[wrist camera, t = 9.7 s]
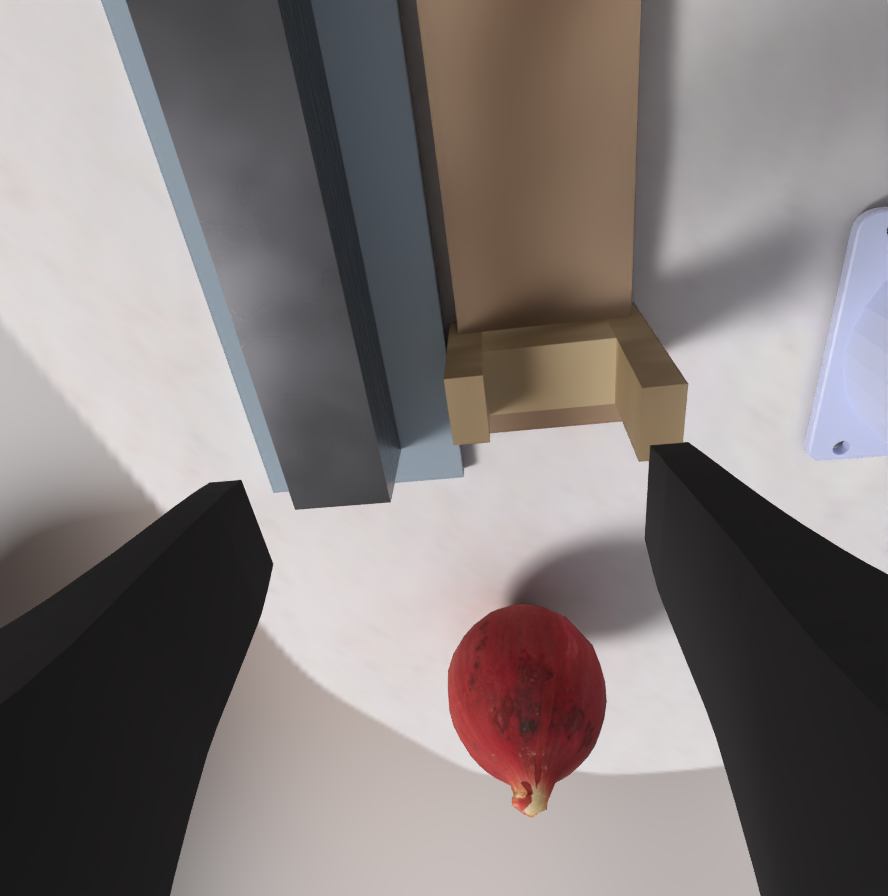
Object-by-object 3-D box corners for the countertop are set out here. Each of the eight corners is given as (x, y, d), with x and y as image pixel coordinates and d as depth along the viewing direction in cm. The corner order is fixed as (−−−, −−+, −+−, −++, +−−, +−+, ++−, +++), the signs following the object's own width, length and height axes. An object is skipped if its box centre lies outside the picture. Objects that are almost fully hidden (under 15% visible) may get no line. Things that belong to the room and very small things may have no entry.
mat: (326, -509, 11) (320, -534, 10) (463, 469, 22) (463, 476, 21) (-30, -413, 11) (-50, -431, 11) (277, 484, 22) (273, 492, 22)
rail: (238, -358, 11) (168, -483, 9) (401, 449, 21) (390, 502, 18) (90, -321, 12) (-18, -432, 9) (317, 456, 21) (294, 509, 18)
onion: (452, 558, 24) (442, 750, 17) (597, 563, 24) (646, 760, 17) (450, 654, 27) (441, 849, 20) (579, 660, 27) (613, 858, 20)
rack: (659, -410, 11) (791, -763, 6) (630, 405, 20) (677, 507, 15) (361, -339, 12) (283, -612, 7) (462, 420, 21) (458, 523, 16)
